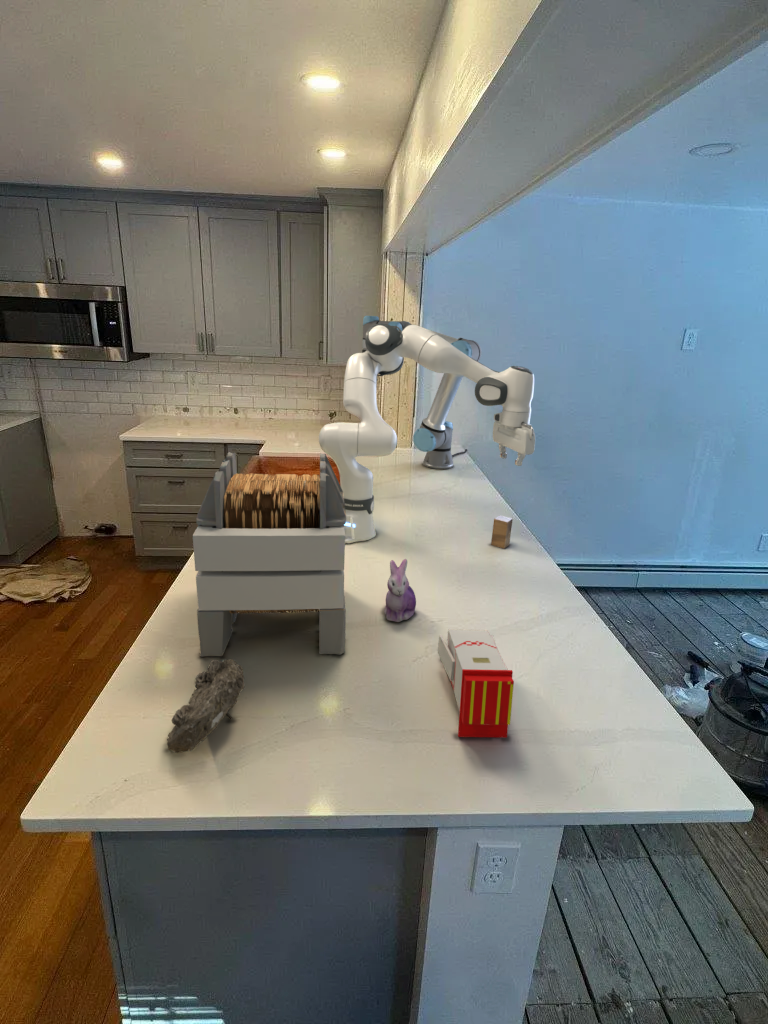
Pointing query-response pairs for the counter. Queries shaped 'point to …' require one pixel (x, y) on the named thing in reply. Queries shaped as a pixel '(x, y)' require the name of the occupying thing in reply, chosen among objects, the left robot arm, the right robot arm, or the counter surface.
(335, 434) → the left robot arm
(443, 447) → the right robot arm
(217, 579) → the transformer
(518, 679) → the counter surface
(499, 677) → the toy
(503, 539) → the brown wooden block
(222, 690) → the fossil
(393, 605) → the figurine
